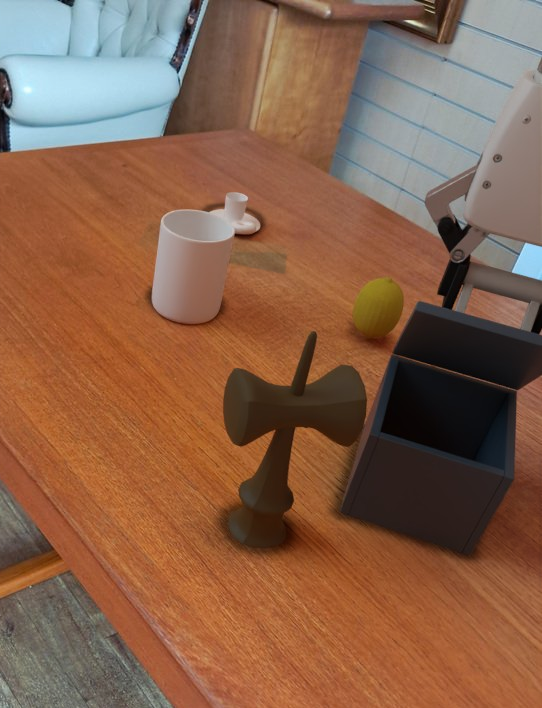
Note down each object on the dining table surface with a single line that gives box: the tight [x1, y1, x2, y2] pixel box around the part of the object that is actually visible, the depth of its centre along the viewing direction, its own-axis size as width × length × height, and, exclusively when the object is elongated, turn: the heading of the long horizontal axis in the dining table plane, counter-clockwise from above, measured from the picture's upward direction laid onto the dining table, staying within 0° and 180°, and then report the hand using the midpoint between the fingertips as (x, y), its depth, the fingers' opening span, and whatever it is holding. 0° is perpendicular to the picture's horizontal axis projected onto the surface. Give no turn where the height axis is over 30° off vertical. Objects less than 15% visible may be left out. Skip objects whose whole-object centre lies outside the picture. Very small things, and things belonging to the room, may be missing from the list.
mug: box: [151, 208, 235, 325], centre depth 92 cm, size 12×8×10 cm
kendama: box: [222, 330, 368, 549], centre depth 61 cm, size 6×10×20 cm, turn 101°
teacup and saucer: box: [209, 191, 261, 235], centre depth 112 cm, size 9×8×4 cm
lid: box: [391, 260, 542, 391], centre depth 65 cm, size 14×12×5 cm
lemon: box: [352, 276, 405, 340], centre depth 92 cm, size 6×6×8 cm
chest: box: [339, 353, 518, 557], centre depth 71 cm, size 14×12×10 cm
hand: (489, 315), depth 62 cm, fingers closed on lid, 6 cm apart
